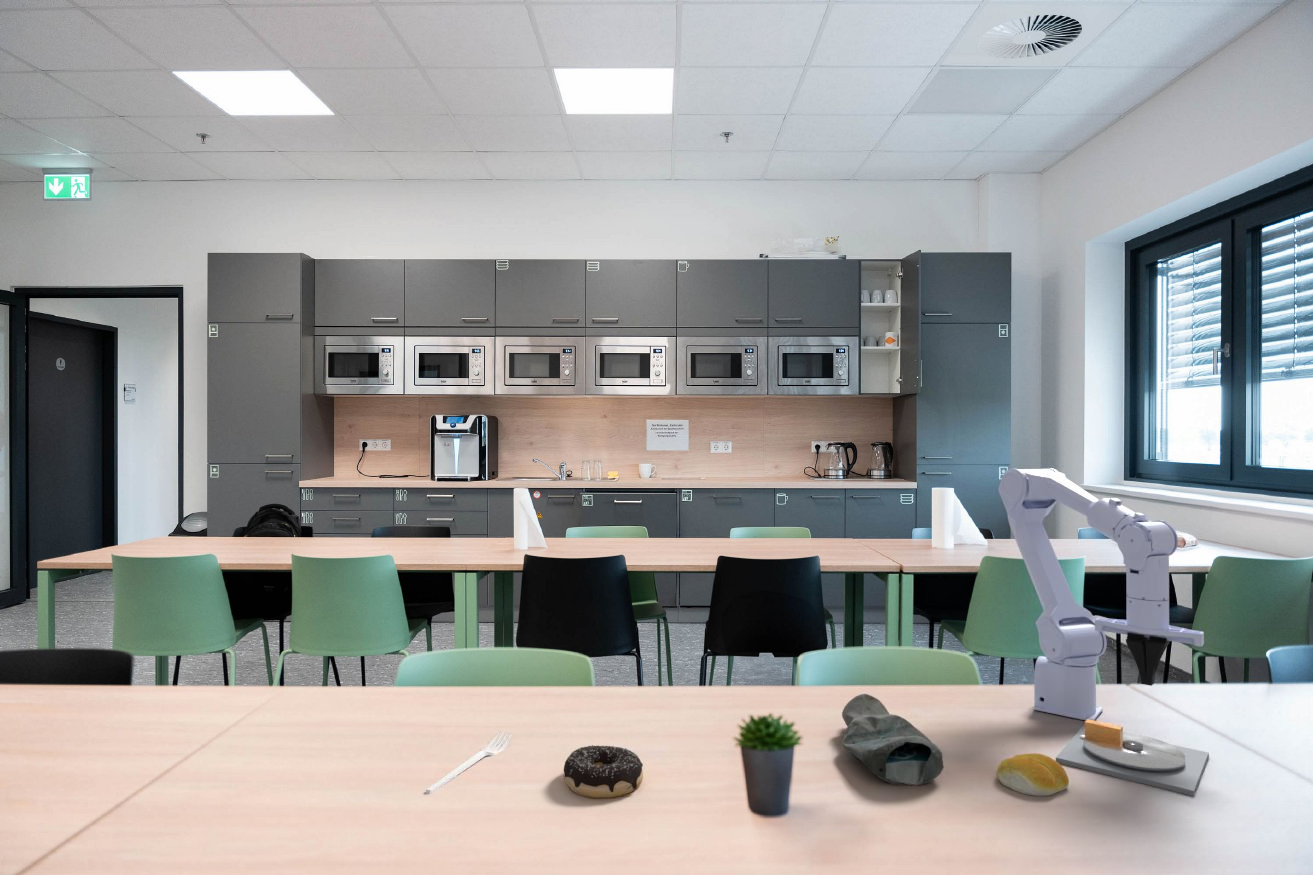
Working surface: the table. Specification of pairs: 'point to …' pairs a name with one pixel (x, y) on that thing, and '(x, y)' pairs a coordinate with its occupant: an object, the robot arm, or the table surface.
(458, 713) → the table surface
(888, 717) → the crumpled grey pouch
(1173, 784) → the base plate
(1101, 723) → the handwheel
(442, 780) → the fork
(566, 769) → the donut
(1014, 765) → the bread roll
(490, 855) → the table surface
